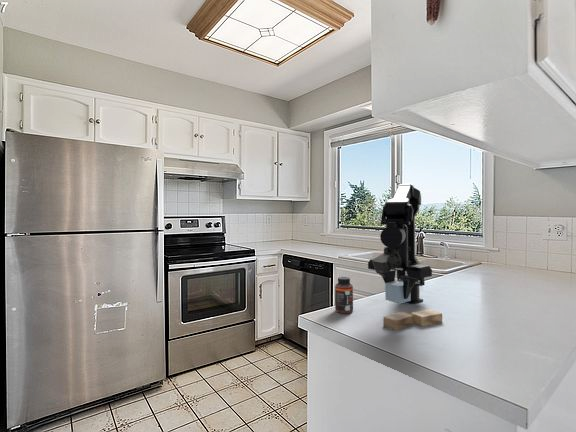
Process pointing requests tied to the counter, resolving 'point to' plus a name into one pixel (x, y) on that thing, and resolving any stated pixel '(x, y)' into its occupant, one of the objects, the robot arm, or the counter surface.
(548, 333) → the counter surface
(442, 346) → the counter surface
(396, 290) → the cube
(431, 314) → the brick
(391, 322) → the base brick
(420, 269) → the robot arm
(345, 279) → the supplement bottle
